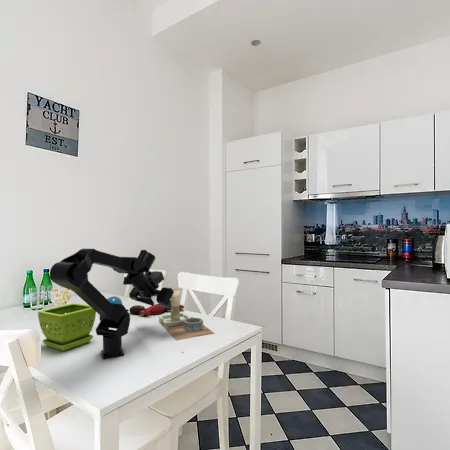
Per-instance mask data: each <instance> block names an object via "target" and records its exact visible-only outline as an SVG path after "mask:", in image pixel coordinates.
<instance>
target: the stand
mask: <svg viewBox="0 0 450 450" xmlns="http://www.w3.org/2000/svg"><path fill="white" fill-rule="evenodd" d="M158 322H159V324H160V325H161V326H162V327H163V328H164V330H165V331H167V332H168V334H169V335H170V336H171V337H172V338H173V339H174V340H175V341H180V340H185V339H186V340H187V339H192V338H198V337H202V336H209V335H214V334H215V332H213V331H212V330H211V329H209V327H207V326H206V325H205V324H204V319H203V318H201V317H193V316H188V315H187V314H186V313H185V312H182V313H180V321H175V322H171V314H166V315H159V316H158Z"/></svg>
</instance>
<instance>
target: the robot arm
mask: <svg viewBox="0 0 450 450" xmlns="http://www.w3.org/2000/svg"><path fill="white" fill-rule="evenodd" d="M155 260H156V256H155V254H153V253H151V252H149V251H147V249H141V250H140V252H139V254H138V256H137V257H134V256H118V255H115V254H111V253H107V252H104V251H100V250H97V249H95V248H84V247H83V248H81V249H79V250H77V251H76V252H75V253H74V254H71V255H69V256H66V257H65V258H63V259H62V260H60V261H58V262H55V263H54V264H53V265H52V266H51V268H50V270H49V276H48V277H49V279H50V281H51V282H53V283H54V284H56V285H58V286H60V287H62V288H64V289H66V290H70V291H72V292H73V293H74V294H76V295H77V296H78V297H79V298H80V299H81V300H82V301H83V302H85V303H86V305H89V306H90V307H91V308H93V309H94V310H95V311H96V314H98V315H99V321H100V322H99V323H98V325H97V326H96V329H95V333H96V335H97V336H102V350H100V353H101V358H102V359H103V360H105V359H111V358H115V357H116V358H117V357H122V356H124V355H125V352H124V349H123V341H122V340H123V339H122V338H123V336H126V335H127V334H128V333H129V328H130V324H131V323H130V322H131V315H130V314H131V313H130V311H129V310H130V309H127V308H126V307H125V305H123V303H122V304H115V303H110V302H109V301H108V300H107V299H108V298H107V297H105V295H103V294H102V293H101V292H100V291H99V290H98V288H96V287H95V286H94V285H93V284H92V283H91V282H90V281H89V275H88V274H89V272H91V270H92V267H93V264H94V265H98V266H103V267H107V268H110V269H112V270H113V271H114V272H116V273H118V274H126V276H124V277H123V283H122V285H125V286H126V285H132V289H131V291H130V292H129V298H130V299H131V300H132V301H135V302H139V303H143V304H146V305H149V306H153V305H155V302H154V301H153V299H152V297H155V301H156V304H159V305H161V306H164V307H166V308H169V309H171V307H172V306H171V302H170V300H171V297H172V295H173V293H174V291H173V290H172V289H173V288H172V287H167V286H166V287H161V290H160V289H159V287H160V285H159V284H160V283H162V281H165V277H164V273H163V271H156V270H155V271H150V270H151V268H152V266H153V265H154V262H155Z"/></svg>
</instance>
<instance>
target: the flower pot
mask: <svg viewBox="0 0 450 450" xmlns="http://www.w3.org/2000/svg"><path fill="white" fill-rule="evenodd" d="M37 316H38V322H39V323H38V324H39V327H40V329H41V331H42V333H43V335H44V337H45V339H42V340H41V342H42V343H43V344H44V345H46V346H48V347H50V348H53V349H56V350H59V351H67V350H70V349H73V348H76V347H78V346H81V345H84V344H87V343H89V342H90V341H92V339H93V338H94V335H93V334H90V333H91V331H92V329H93V327H94V324H95V320H96V316H97V312H96V311H95V310H94V309H93V308H91V307H90V306H89V305H88V304H85V303H84V304H83V303H76V302H74V303H73V302H72V303H67V304H63V305H58V306H55V307H54V306H53V307H49V308H45V309H42V310H41V309H40V310H38V312H37ZM84 322H85V323H84ZM83 323H84V324H83Z"/></svg>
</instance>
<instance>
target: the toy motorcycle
mask: <svg viewBox="0 0 450 450" xmlns="http://www.w3.org/2000/svg"><path fill="white" fill-rule="evenodd" d="M170 302H171V299H170ZM182 309H185V306H184V305H183V304H180V310H182ZM128 310H129V311H128V312H129V314H132V315H136V316H137V315H142V316H143V315H147V316H150V315H151V316H152V315H159V314H162V313H164V311H165V312H168V311H171V309H169V308H166V307H164V306H161V305H159V303H156V304H155V303H154V305H153V306H152V305H149V307H145V306H144V305H138V304H136V305H133V306H131V307H129V309H128Z"/></svg>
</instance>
